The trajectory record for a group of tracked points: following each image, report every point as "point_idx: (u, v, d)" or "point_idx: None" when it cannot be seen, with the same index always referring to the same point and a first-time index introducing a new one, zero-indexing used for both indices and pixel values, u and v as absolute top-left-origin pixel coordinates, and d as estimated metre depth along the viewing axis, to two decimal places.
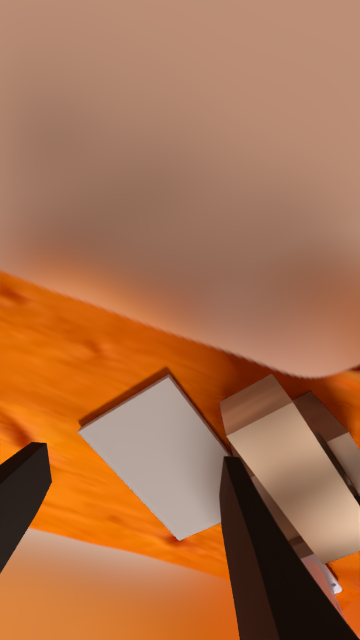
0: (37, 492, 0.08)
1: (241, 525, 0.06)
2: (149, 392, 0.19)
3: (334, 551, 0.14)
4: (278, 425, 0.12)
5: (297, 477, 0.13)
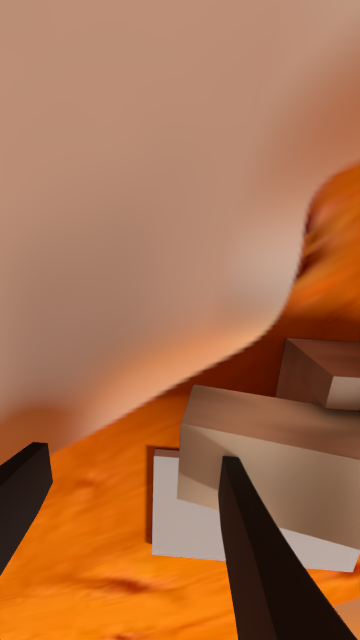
0: (38, 492, 0.08)
1: (239, 525, 0.06)
2: (157, 480, 0.16)
3: None
4: (199, 453, 0.09)
5: (296, 493, 0.08)
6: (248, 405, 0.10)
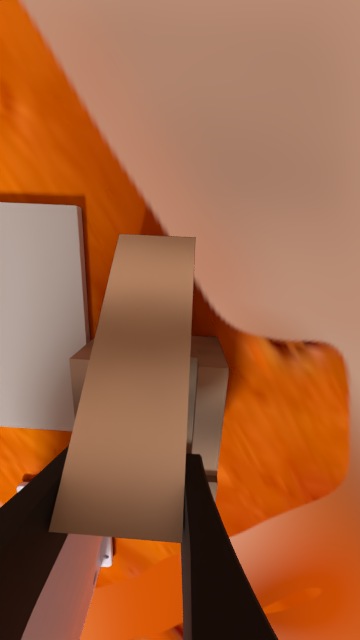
0: None
1: (187, 521, 0.06)
2: (41, 209, 0.13)
3: (92, 503, 0.07)
4: (169, 249, 0.11)
5: (144, 314, 0.10)
6: None
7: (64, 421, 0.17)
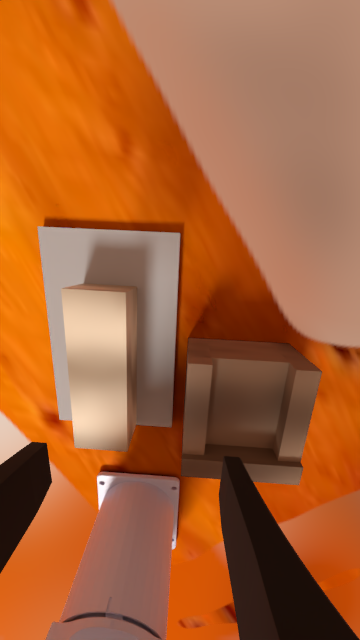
0: (37, 492, 0.08)
1: (241, 525, 0.06)
2: (149, 235, 0.15)
3: (89, 440, 0.17)
4: (105, 304, 0.14)
5: (95, 359, 0.15)
6: (133, 325, 0.16)
7: (147, 417, 0.19)
